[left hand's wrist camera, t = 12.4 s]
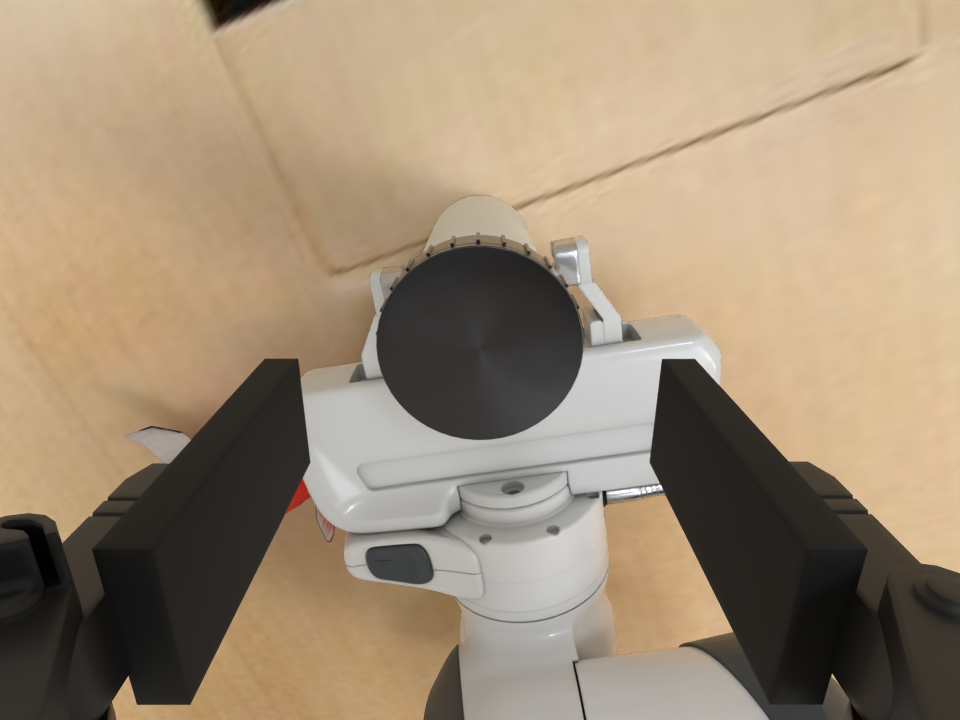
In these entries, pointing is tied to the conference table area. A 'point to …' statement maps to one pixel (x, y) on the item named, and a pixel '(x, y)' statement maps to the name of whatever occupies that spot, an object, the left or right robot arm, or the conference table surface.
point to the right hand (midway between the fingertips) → (476, 254)
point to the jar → (480, 221)
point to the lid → (479, 338)
